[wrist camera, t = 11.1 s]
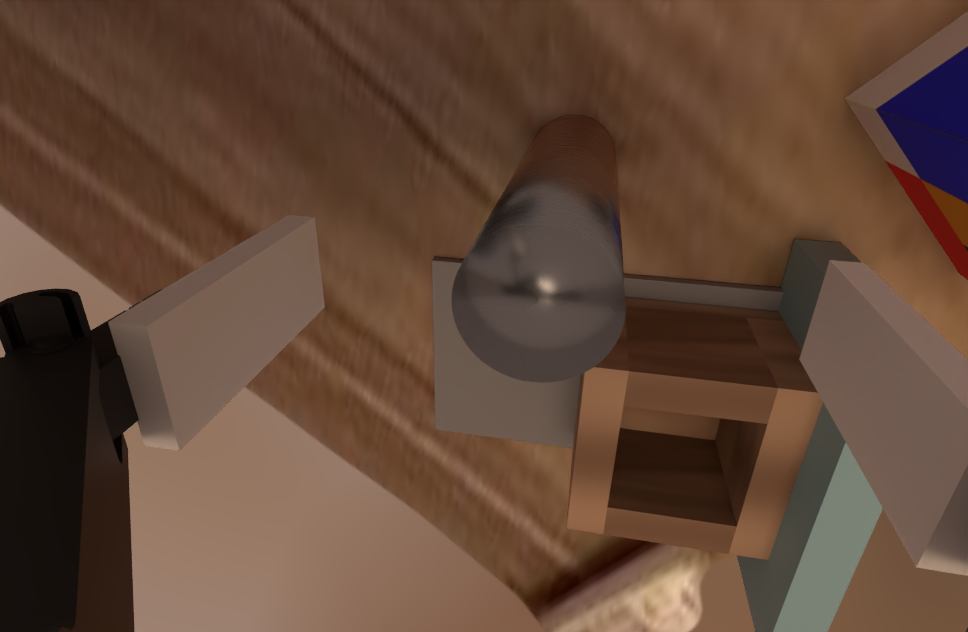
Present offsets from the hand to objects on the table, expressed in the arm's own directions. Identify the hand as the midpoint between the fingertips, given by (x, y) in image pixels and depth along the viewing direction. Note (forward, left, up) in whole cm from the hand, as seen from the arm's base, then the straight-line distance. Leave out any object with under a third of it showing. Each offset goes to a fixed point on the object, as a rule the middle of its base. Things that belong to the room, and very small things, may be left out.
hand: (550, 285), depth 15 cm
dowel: (0, 0, -14) cm, 14 cm away
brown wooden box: (+11, +6, -13) cm, 18 cm away
